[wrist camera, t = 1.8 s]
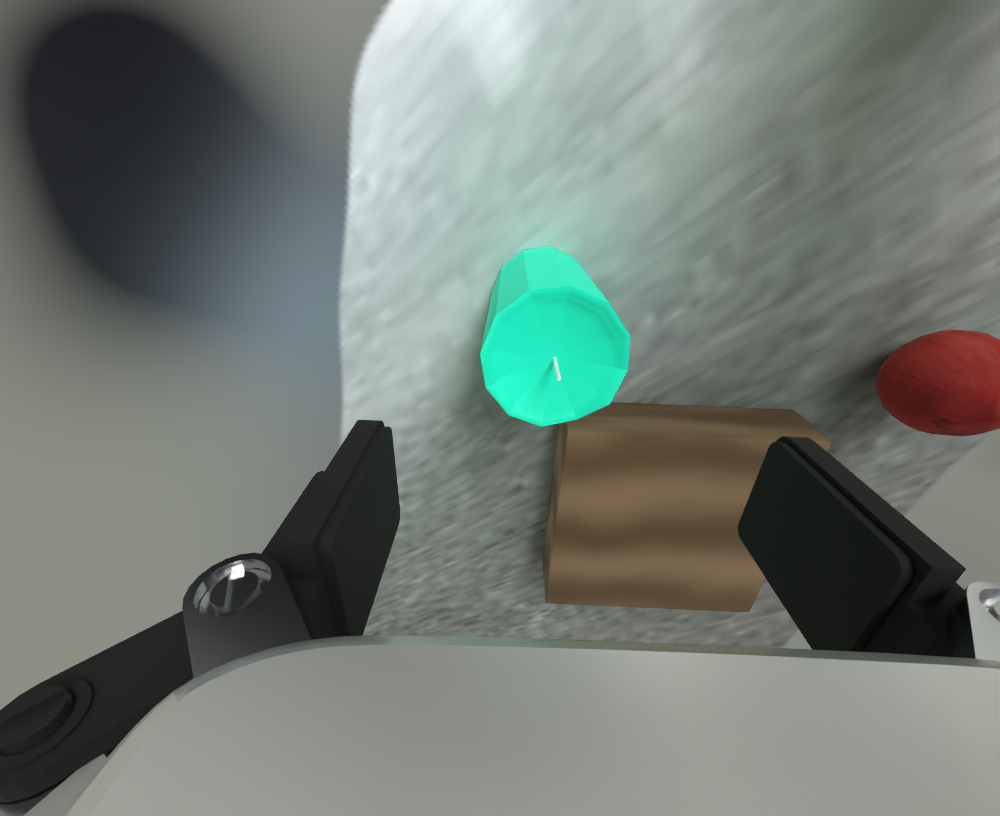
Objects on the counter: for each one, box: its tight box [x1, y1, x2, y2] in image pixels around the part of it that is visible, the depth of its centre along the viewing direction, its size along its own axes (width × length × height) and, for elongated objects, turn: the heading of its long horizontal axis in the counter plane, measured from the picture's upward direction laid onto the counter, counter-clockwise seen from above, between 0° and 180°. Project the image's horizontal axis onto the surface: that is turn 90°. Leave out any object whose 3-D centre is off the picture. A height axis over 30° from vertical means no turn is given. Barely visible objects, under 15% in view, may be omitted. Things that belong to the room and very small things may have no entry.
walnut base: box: [543, 402, 832, 612], centre depth 31 cm, size 16×16×4 cm
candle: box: [480, 246, 631, 427], centre depth 21 cm, size 6×6×12 cm
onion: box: [876, 330, 1000, 436], centre depth 23 cm, size 6×6×8 cm
